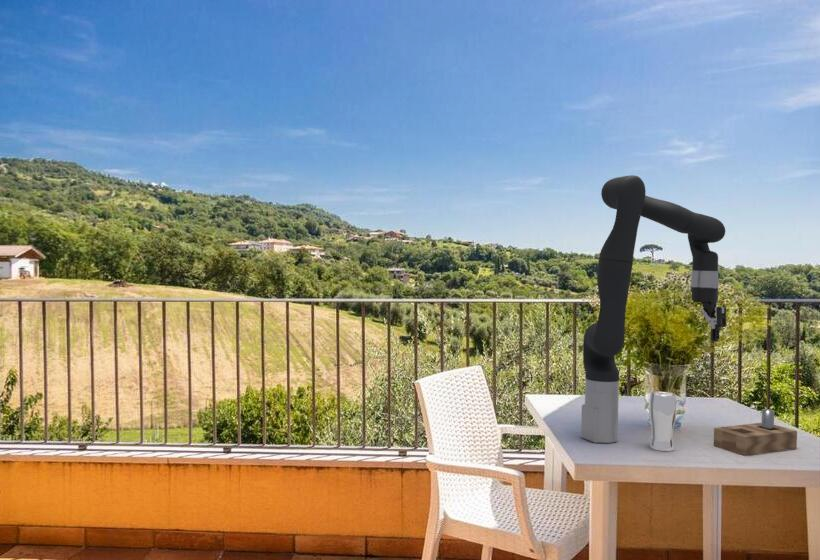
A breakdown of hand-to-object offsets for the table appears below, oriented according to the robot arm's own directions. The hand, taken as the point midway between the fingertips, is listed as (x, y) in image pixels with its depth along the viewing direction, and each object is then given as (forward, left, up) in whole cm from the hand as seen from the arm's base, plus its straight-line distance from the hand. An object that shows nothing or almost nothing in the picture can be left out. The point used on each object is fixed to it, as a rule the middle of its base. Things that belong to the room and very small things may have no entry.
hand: (702, 339), depth 189 cm
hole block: (+2, -17, -28) cm, 33 cm away
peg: (+7, -17, -28) cm, 33 cm away
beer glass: (-24, -9, -28) cm, 38 cm away
